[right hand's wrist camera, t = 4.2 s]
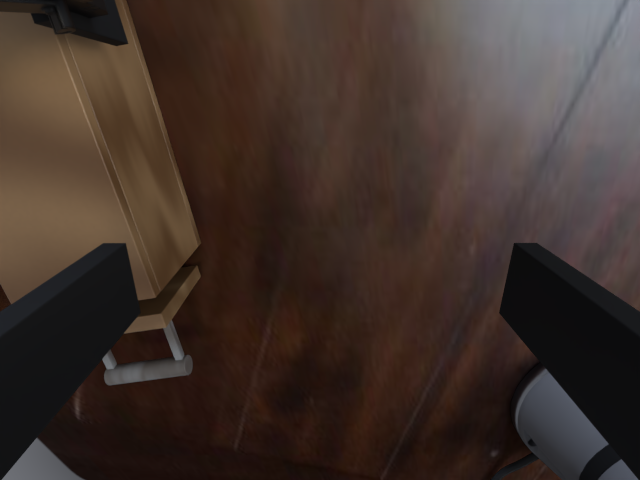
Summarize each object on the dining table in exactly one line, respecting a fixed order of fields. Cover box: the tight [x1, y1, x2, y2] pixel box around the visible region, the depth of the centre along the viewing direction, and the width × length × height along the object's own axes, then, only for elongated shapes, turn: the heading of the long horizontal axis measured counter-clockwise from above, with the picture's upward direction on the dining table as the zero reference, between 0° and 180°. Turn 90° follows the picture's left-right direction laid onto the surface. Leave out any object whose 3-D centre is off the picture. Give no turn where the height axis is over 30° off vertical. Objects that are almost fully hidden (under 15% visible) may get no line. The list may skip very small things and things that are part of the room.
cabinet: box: [0, 0, 201, 304], centre depth 25 cm, size 20×10×10 cm, turn 9°
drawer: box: [102, 265, 201, 385], centre depth 27 cm, size 25×8×8 cm, turn 9°
